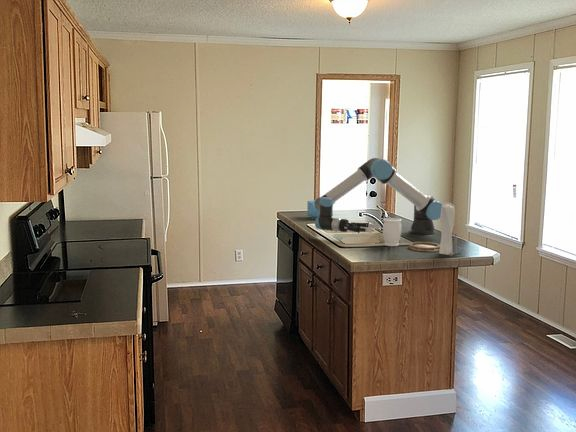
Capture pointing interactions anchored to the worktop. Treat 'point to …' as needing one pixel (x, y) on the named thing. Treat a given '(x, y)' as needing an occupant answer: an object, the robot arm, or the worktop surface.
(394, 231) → the jar
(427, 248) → the coaster
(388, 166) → the robot arm
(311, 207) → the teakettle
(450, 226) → the skyscraper
